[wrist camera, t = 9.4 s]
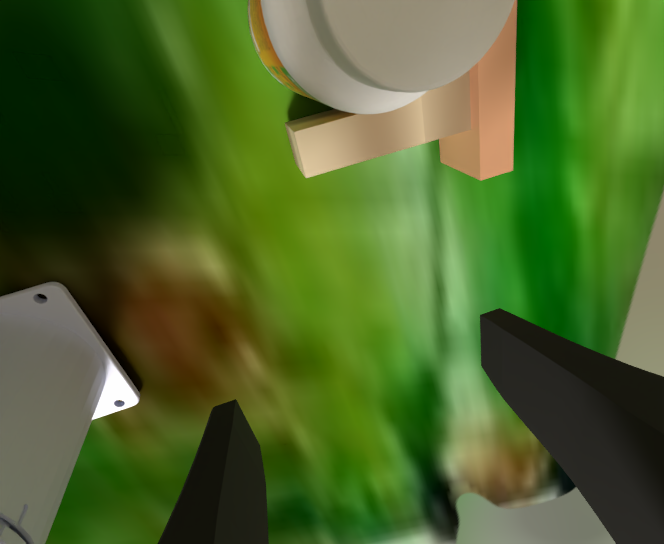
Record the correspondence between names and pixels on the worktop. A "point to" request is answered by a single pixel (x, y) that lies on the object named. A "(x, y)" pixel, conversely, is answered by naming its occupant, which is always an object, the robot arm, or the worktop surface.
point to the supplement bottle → (372, 46)
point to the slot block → (378, 129)
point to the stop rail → (488, 112)
